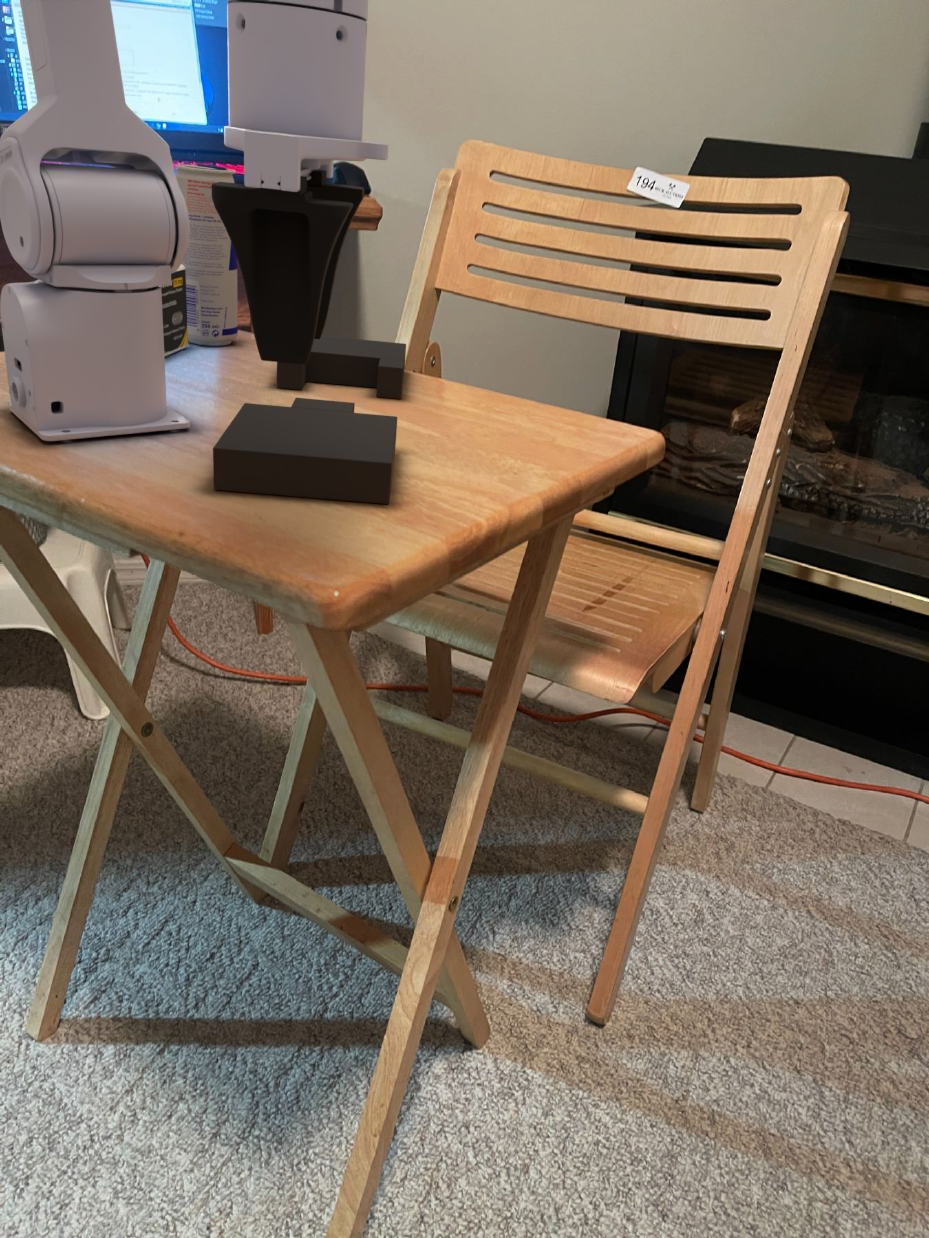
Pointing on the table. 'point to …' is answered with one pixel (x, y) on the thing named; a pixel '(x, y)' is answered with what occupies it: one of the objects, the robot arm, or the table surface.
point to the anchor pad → (349, 365)
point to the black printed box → (175, 313)
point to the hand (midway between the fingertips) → (292, 348)
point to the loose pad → (307, 452)
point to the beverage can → (208, 259)
